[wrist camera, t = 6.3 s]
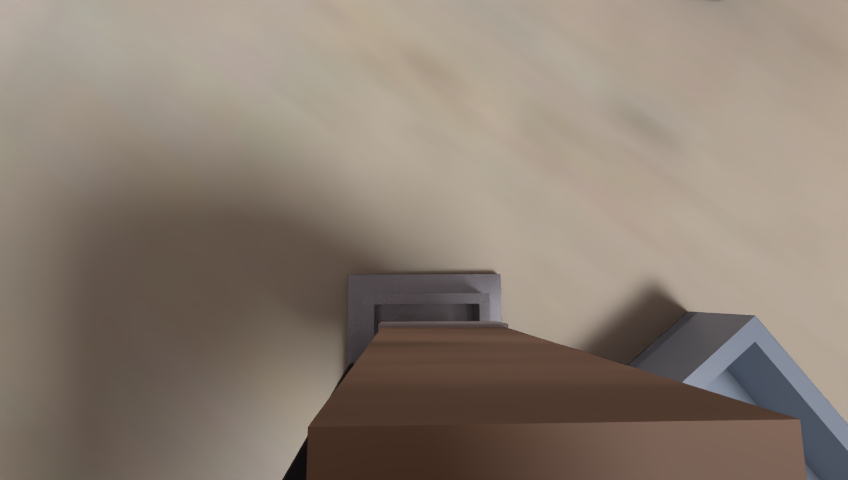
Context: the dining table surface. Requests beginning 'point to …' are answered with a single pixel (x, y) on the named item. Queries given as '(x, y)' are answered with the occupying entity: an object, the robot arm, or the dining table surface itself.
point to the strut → (533, 416)
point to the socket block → (417, 302)
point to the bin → (751, 379)
